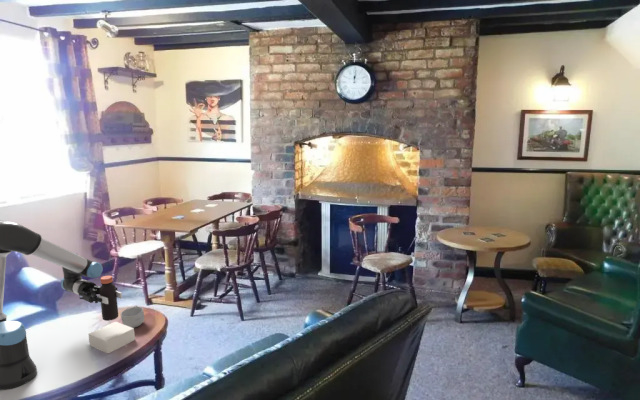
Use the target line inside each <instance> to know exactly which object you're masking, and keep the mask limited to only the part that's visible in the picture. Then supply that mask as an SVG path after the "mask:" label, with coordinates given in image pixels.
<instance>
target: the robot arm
mask: <svg viewBox="0 0 640 400" xmlns="http://www.w3.org/2000/svg"><path fill="white" fill-rule="evenodd" d="M12 252H16V253H20V254H23V255H26V256H30V255H32V256H35V257H37V258H39V259H42V260H45V261H46V262H49V263H52V264H54V265H56V266H59V267H61V268H62V273H63V278H62V279H61V282H60V286H61V289H63V290H64V291H66V292H68V293H73V294H75V295H78V297H79V300H84V301H86V302H88V303H90V304H92V303H94V304H98V303H101V302H102V303H105V304H109V303H108V298H106V297H103V296H100V291H99V289H100V287H101V286H102V285H97V284H96V283H95V282H93V281H89V280H86V279H83V277H86V278H90V279H95V278H96V279H97V278H99V277H100V276H101V275H102V273H103V272H104V271H103V270H104V269H103V265H102V264H101V263H100V262H98V261H93V260H90V259H88V258H85V257H83V256H82V255H79V254H78V253H76V252H73V251H70V250H69V249H66V248H64V247H61V246H60V245H57V244H55V243H54V242H50V241H49V240H47V239H44V238H43V237H42V235H41V234H40V233H38V232H35V231H33V230H32V229H30V228H29V227H28V228H27V227H25V226H23V225H22V224H19V223H17V222H15V221H7V220H1V219H0V390H8V389H9V390H10V389H13V388H17V387H20V386H22V385H24V384H27V383H28V382H30V381H31V380H33V379H34V378H36V376H37V374H38V369H37V368H38V367H37V366H36V364H35V362H34V361H33V359H32V358H31V356H30V350H29V345H28V338H27V330H26V328H25V325H24V323H23V322H21V321H19V320H7V317H8V316H7V315H6V314H5V313H4V309H3V307H4V298H5V297H4V296H5V295H4V294H5V281H6V266H7V264H6V263H7V257H8V255H10V254H11V253H12ZM115 287H116V296H117V298H118V299H123V293H122V291H118V290H119V289H118V287H117V286H115Z"/></svg>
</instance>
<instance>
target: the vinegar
mask: <svg viewBox="0 0 640 400" xmlns="http://www.w3.org/2000/svg"><path fill="white" fill-rule="evenodd" d="M113 281H114V280H113V276H112V275H105V276H104V275H103V276H101V277H100V284H101V285H100V286H101V287H100V289H99V291H100V294H99V295H100V296H103V297H106V298H108V303H109V304H105V303H102V302H100V307H101V316H102V320H103V321H106V322H107V321H113V320H117V319H118V317H119V306H118V299H117V298H118V297H117V296H116V287H117V286H116V285H115V284H114V283H113Z"/></svg>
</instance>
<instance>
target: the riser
mask: <svg viewBox="0 0 640 400" xmlns="http://www.w3.org/2000/svg"><path fill="white" fill-rule="evenodd" d="M133 341H136V336H135V328H132V327H129V326H126V325H124V324H123V323H121V322H118V321H114V322H112V323H109V324H107V325H104V326H103V327H100V328H99V329H96V330H94V331H92V332H90V333H88V343H89V347H92V348H94V349H96V350H99V351H101V352H103V353H105V354H110V353H112V352H114V351H116V350H118V349H120V348H123V347H124V346H127V345H128V344H130V343H132V342H133Z"/></svg>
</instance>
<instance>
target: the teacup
mask: <svg viewBox="0 0 640 400" xmlns="http://www.w3.org/2000/svg"><path fill="white" fill-rule="evenodd" d="M120 318H121V321H122V323H121V324H124V325H126V326H129V327H132V328H134V329H135V328H138V327H140V326H141V325H142V324H143V323H144V321H145V311H144V308H143V307H142V306H138V305H134V306H132V307H128V308H126V309H124V310H122V311H121V312H120Z"/></svg>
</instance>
